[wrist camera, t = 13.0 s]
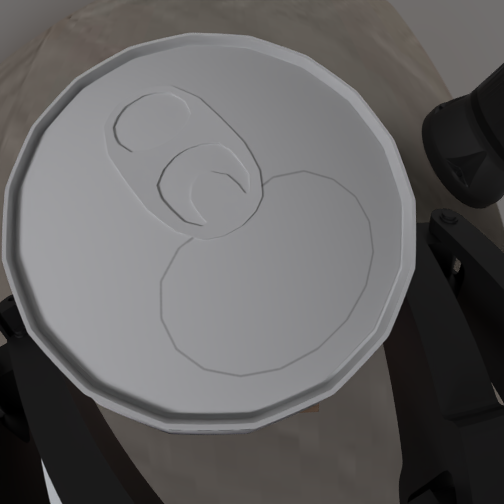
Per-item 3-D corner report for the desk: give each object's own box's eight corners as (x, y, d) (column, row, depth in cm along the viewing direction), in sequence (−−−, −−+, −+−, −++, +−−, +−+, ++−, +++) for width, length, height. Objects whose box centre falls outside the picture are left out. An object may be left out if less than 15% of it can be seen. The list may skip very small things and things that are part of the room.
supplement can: (298, 298, 20) (495, 232, 5) (195, 386, 18) (183, 549, 3) (214, 198, 20) (246, -15, 6) (110, 280, 18) (-64, 175, 4)
